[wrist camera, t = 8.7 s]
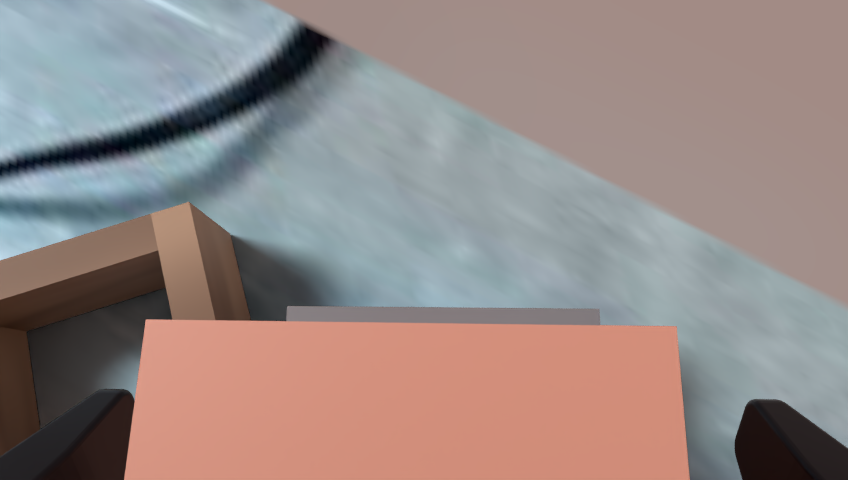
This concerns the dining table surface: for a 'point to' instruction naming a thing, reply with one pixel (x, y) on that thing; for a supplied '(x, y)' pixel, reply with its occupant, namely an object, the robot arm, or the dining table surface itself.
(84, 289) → the walnut socket
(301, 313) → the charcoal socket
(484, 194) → the dining table surface
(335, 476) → the peg
